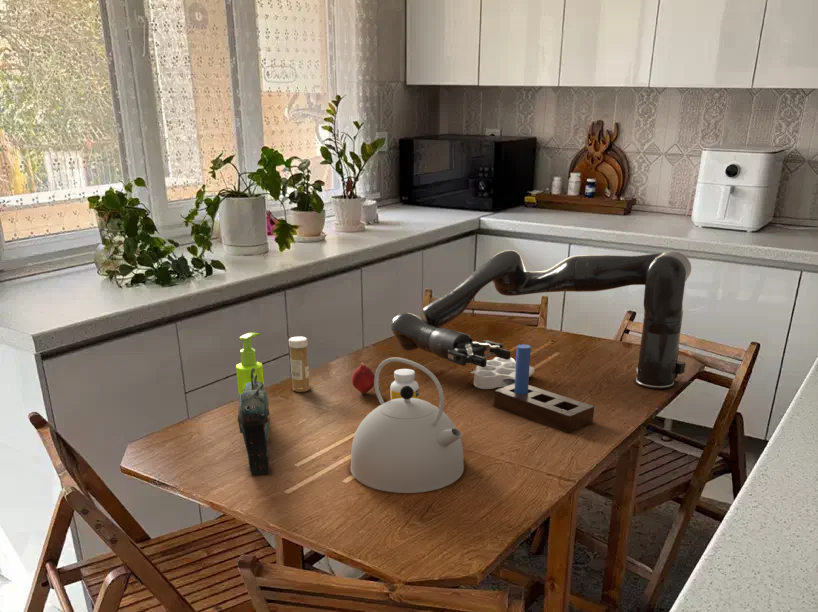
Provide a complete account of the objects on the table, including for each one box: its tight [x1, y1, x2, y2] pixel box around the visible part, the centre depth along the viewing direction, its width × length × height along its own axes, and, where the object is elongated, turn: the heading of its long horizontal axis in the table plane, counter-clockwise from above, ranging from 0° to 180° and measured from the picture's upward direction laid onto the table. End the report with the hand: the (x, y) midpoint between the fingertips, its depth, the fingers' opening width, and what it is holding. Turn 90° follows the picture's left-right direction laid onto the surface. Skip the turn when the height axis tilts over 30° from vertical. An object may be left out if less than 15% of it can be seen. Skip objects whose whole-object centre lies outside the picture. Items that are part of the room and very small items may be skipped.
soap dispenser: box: [235, 331, 265, 395], centre depth 177 cm, size 6×7×20 cm
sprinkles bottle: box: [288, 335, 311, 393], centre depth 196 cm, size 5×5×14 cm
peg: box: [514, 343, 532, 395], centre depth 184 cm, size 3×3×15 cm
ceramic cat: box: [237, 368, 271, 476], centre depth 157 cm, size 20×6×20 cm, turn 9°
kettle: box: [350, 356, 465, 494], centre depth 152 cm, size 25×23×22 cm
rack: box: [493, 384, 595, 434], centre depth 182 cm, size 9×22×4 cm, turn 42°
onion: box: [351, 362, 375, 395], centre depth 194 cm, size 6×6×8 cm
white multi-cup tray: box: [470, 356, 536, 390], centre depth 204 cm, size 3×18×15 cm
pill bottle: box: [389, 368, 420, 400], centre depth 177 cm, size 6×6×12 cm
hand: (497, 359), depth 189 cm, fingers open, 8 cm apart
